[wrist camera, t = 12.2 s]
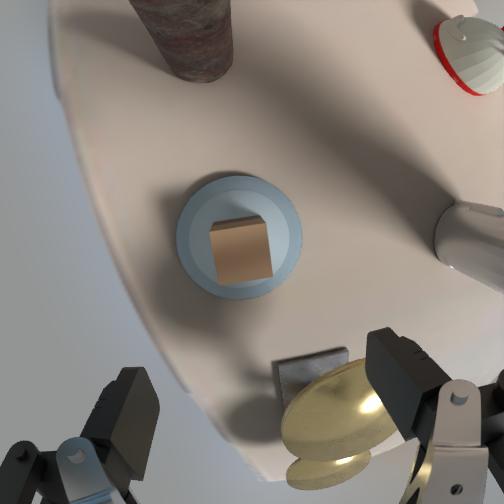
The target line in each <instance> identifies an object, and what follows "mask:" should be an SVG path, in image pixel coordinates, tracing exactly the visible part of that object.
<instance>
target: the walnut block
mask: <svg viewBox="0 0 504 504" xmlns="http://www.w3.org/2000/svg"><path fill="white" fill-rule="evenodd" d="M209 234H210V239H211V245H212V251H213V256H214V262H215V267H216V272H217V278H218V283H219V285H225V284H232V283H239V282H245V281H251V280H258V279H264V278H270V277H273V271H272V263H271V255H270V247H269V240H268V232H267V225H266V222H265V221H264V220H263V218H262V217H261V216H260V215H255V216H249V217H242V218H235V219H229V220H223V221H216V222H213V224H212V227H211V229H210V231H209Z"/></svg>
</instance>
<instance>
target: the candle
mask: <svg viewBox="0 0 504 504" xmlns="http://www.w3.org/2000/svg"><path fill="white" fill-rule="evenodd" d="M129 2H130V4H131V5H132V6H133V8H134V9H135V11H136V12H137V14H138V15H139V17H140V18H141V20H142V22H143V23H144V25H145V26H146V28H147V30H148V31H149V33H150V35H151V36H152V38H153V40H154V41H155V43H156V45H157V47H158V48H159V50H160V52H161V53H162V55H163V57H164V58H165V60H166V61H167V63H168V65H169V66H170V68H171V69H172V71H173V72H174V73H175V74H176V75H177V76H179V77H180V78H182V79H184V80H186V81H189V82H198V83H201V82H202V83H209V82H213V81H215V80H217V79H219V78H220V77H221V76H223V75H224V74H225V72H226V71H227V70H228V69H229V68H230V66H231V64H232V60H233V40H232V27H231V7H230V0H129Z"/></svg>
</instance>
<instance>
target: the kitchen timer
mask: <svg viewBox="0 0 504 504" xmlns="http://www.w3.org/2000/svg"><path fill="white" fill-rule="evenodd" d="M433 38H434V45H435V48H436V51H437V54H438V56H439V58H440V60H441V62H442V64H443V66H444V67H445V69H446V70H447V72H448V73H449V75H450V76H451V77H452V79H453V80H454V81H455V82H456V83H457V84H458V85H459V86H460V87H461V88H462V89H463V90H465V91H466V92H468V93H470V94H472V95H476V96H481V95H485V94H488V93H490V92H492V91H494V90H496V89H497V88H498V87H500V86H501V85H502V84H504V27H503V28H501V29H500V28H499V27H497V26H496V25H494V24H492V23H490V22H487V21H485V20H482V19H479V18H473V17H464V16H463V15H459V16H456V17H454V18H453V19H448V20H445V21H443V22H441V23H440V24H438V25H437V26H436V27H435V29H434V33H433Z"/></svg>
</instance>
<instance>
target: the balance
mask: <svg viewBox="0 0 504 504" xmlns="http://www.w3.org/2000/svg"><path fill="white" fill-rule="evenodd" d="M348 358H349V351H348V350H347V348H344V349H340V350H336V351H332V352H327V353H323V354H319V355H314V356H310V357H305V358H300V359H295V360H290V361H285V362H279V363H278V370H279V378H280V386H281V393H282V401H283V409H284V415H283V418H282V422H281V433H282V438H283V442H284V445H285V447H286V448H287V450H288V451H289V452H290V453H292V454H293V455H294V456H296V457H298V458H299V459H297V460H296V461H295V462H293V463H292V464H291V465H290V466H289V468H288V469H287V471H286V479H287V483H288V484H289V485H290V486H291V487H293V488H296V489H300V490H318V489H323V488H328V487H332V486H334V485H338V484H340V483H343V482H345V481H347V480H349V479H350V478H352V477H354V476H355V475H357V474H358V473H360V472H361V471H362V470H363V469H364V468H365V467H366V466H367V465H368V463H369V462H370V459H371V453H370V451H369V449H371V448H373V447H375V446H376V445H378V444H380V443H381V442H383V441H384V440H386V439H387V438H388V437H389V436H391V435H392V434H393V433H394V432H395V431H396V430H397V429H398V428H397V427H396V425H395V423H394V422H393V420H392V418H391V417H390V415H389V413H388V412H387V410H386V409H385V407H384V405H383V404H382V402H381V400H380V399H379V397H378V396H377V394H376V392H375V391H374V389H373V388H372V386H371V384H370V383H369V381H368V379H367V376H366V372H365V359H366V358H363V359H358V360H355V361H352V362H349V363H348Z"/></svg>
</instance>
